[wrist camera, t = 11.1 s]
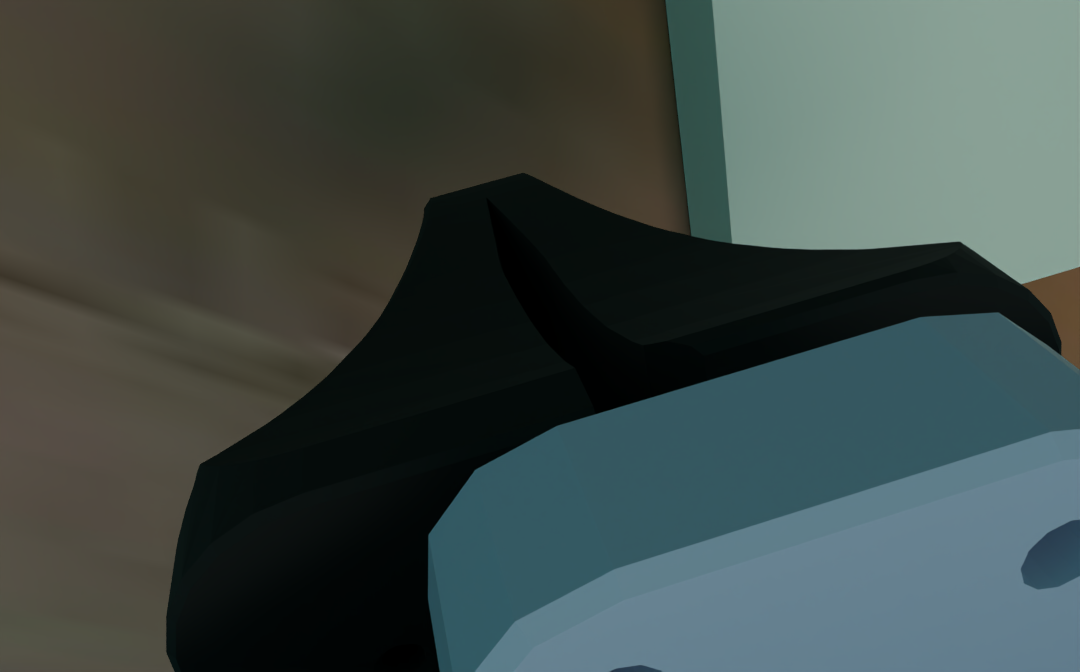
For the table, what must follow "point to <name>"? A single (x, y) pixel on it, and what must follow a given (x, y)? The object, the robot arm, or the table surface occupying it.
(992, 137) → the large sage green panel
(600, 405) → the robot arm
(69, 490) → the table surface
